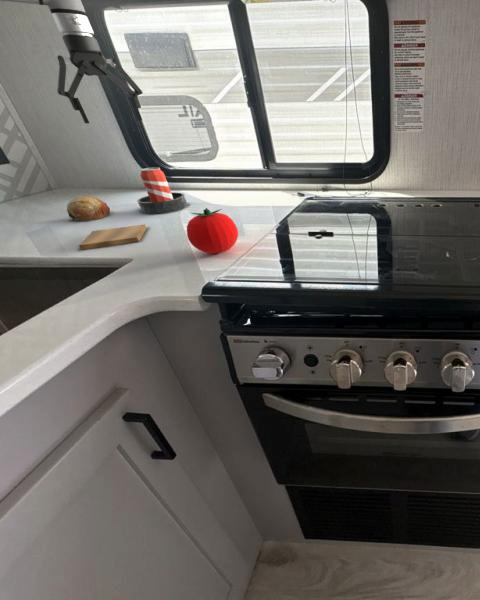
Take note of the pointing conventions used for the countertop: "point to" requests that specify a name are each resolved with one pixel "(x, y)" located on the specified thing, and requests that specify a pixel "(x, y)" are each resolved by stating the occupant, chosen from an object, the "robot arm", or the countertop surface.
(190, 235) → the tomato
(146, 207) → the pan
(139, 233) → the board
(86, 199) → the bread roll
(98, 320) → the countertop surface
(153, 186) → the beverage can
